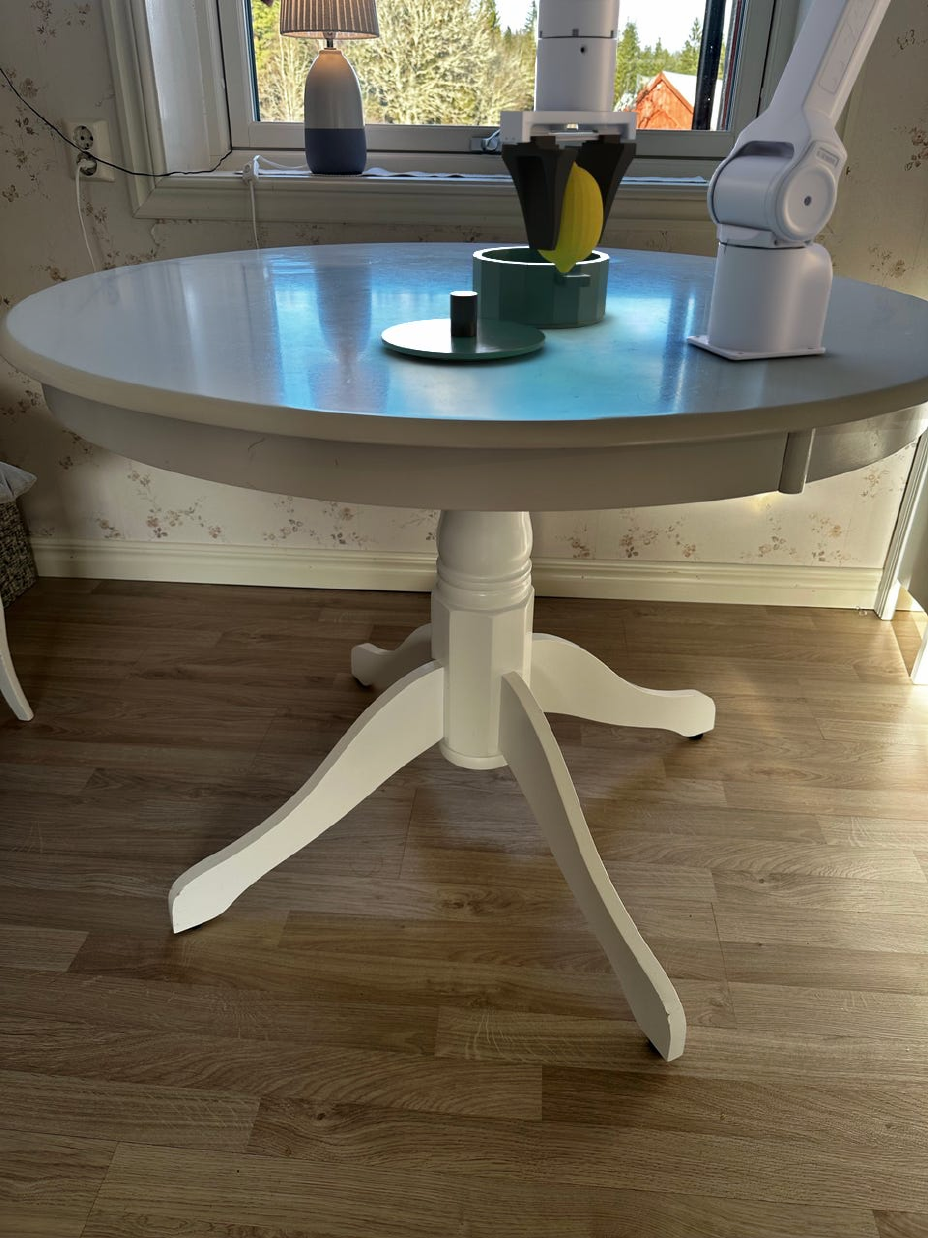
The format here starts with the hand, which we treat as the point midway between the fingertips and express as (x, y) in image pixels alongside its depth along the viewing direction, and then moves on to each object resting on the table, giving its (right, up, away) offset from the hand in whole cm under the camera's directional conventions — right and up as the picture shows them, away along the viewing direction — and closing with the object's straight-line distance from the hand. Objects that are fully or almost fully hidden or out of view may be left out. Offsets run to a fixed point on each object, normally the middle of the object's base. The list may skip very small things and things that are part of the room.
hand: (565, 245), depth 72 cm
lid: (-8, -4, +10) cm, 14 cm away
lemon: (0, -2, +1) cm, 2 cm away
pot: (0, +3, +24) cm, 24 cm away
